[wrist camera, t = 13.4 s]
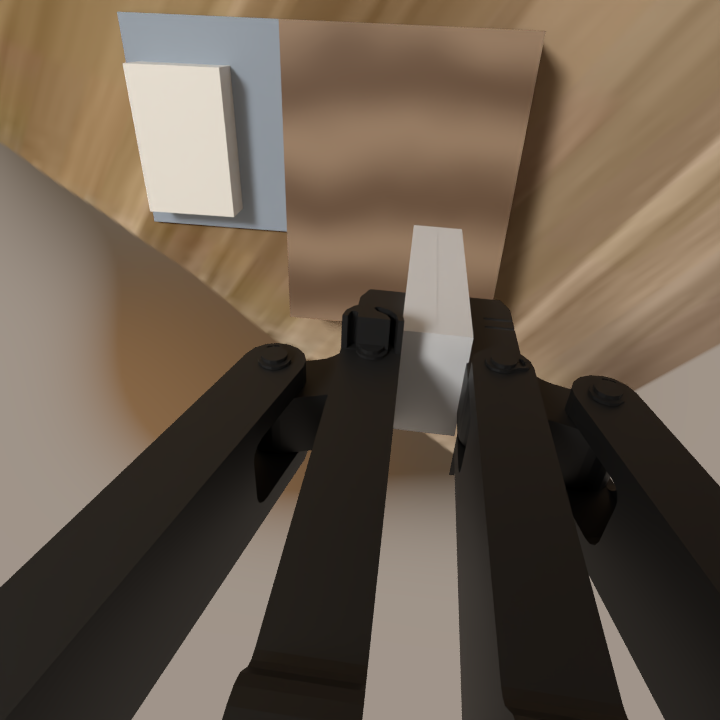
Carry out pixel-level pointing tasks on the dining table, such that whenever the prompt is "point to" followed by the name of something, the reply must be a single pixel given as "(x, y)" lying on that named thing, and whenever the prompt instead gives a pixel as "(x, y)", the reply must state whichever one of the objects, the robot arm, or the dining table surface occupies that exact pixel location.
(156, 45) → the mat
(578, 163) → the dining table surface
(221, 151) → the white rectangular block
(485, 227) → the brown wooden slab
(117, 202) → the dining table surface
